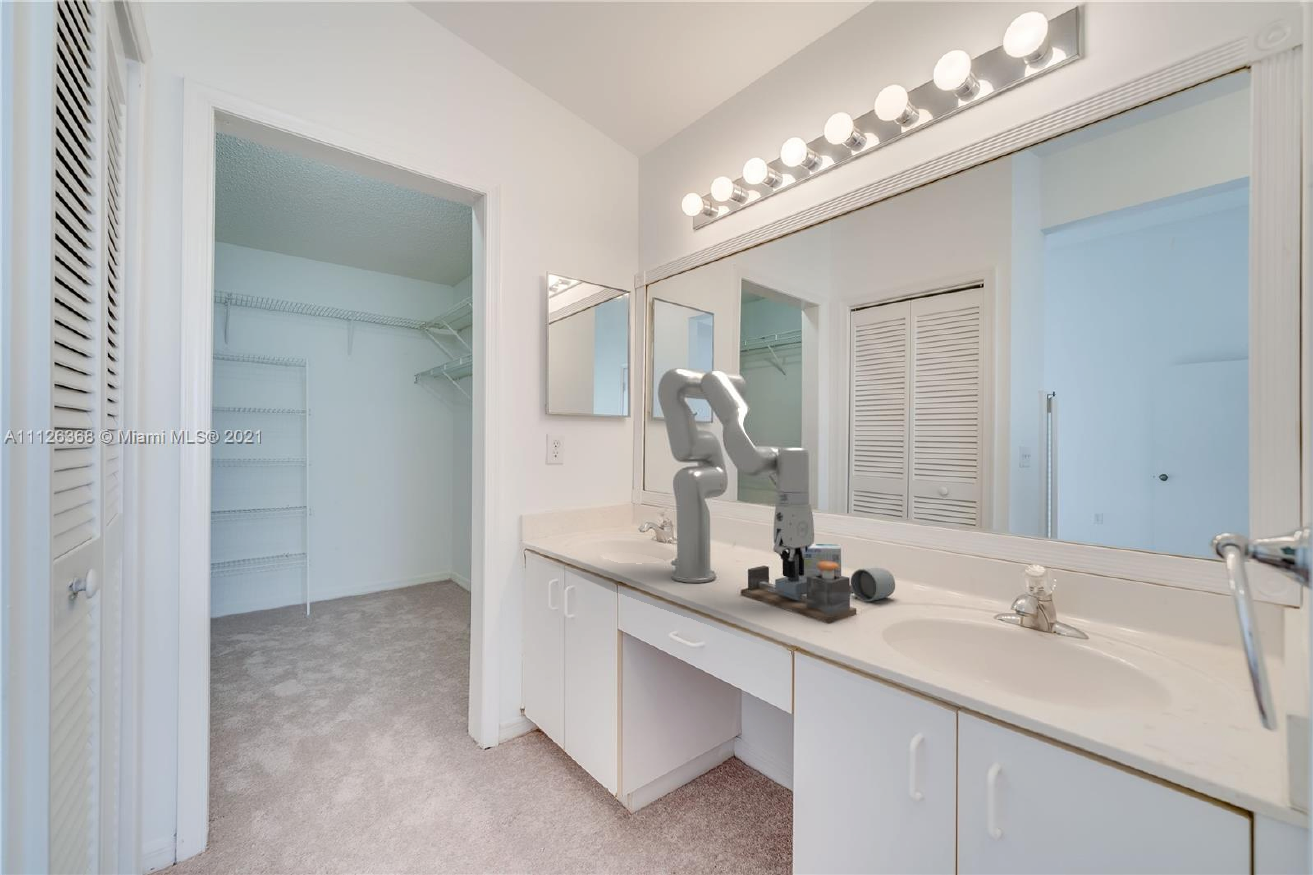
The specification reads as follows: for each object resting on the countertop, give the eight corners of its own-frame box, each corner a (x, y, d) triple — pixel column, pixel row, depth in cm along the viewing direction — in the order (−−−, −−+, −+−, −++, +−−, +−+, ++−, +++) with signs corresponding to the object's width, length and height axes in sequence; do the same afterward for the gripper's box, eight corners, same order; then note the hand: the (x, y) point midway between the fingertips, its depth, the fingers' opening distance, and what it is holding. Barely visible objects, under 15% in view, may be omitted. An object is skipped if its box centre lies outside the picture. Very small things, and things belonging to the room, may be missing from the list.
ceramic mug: (898, 599, 123) (897, 568, 124) (877, 605, 119) (876, 572, 119) (860, 590, 133) (859, 560, 133) (839, 595, 128) (839, 564, 128)
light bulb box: (836, 582, 140) (835, 542, 140) (842, 589, 133) (842, 547, 133) (796, 581, 141) (796, 542, 141) (800, 588, 134) (800, 547, 134)
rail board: (741, 594, 128) (740, 561, 128) (767, 587, 134) (767, 556, 134) (829, 623, 108) (829, 584, 108) (856, 613, 114) (856, 577, 114)
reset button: (813, 585, 114) (813, 563, 114) (825, 582, 117) (825, 560, 117) (830, 590, 111) (830, 567, 111) (842, 586, 113) (842, 564, 113)
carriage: (775, 594, 122) (774, 554, 122) (791, 589, 126) (791, 551, 126) (795, 600, 117) (795, 558, 117) (811, 595, 121) (811, 555, 121)
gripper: (782, 502, 114) (783, 585, 114) (826, 497, 123) (827, 573, 123) (757, 499, 120) (758, 578, 120) (801, 495, 129) (801, 567, 129)
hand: (793, 575), depth 121 cm, fingers closed on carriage, 2 cm apart
